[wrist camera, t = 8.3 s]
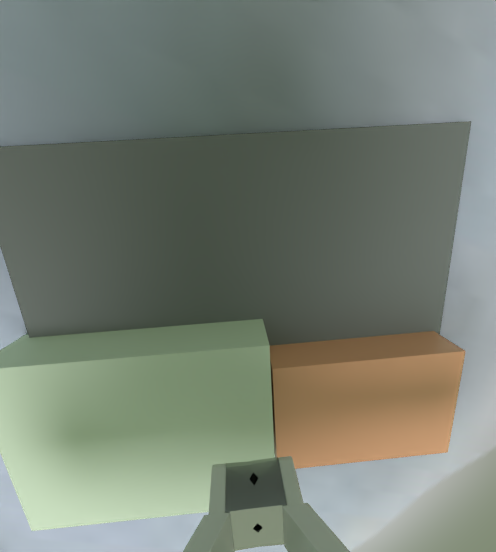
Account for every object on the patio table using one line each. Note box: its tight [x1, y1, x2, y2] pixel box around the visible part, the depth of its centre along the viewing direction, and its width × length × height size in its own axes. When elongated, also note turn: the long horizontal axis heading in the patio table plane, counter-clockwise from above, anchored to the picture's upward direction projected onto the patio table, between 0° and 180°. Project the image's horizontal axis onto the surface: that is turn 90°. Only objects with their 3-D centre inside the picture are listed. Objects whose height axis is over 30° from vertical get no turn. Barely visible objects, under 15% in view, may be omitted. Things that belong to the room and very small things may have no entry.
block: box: [270, 331, 465, 469], centre depth 14 cm, size 6×9×2 cm, turn 94°
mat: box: [0, 121, 471, 346], centre depth 13 cm, size 16×21×1 cm
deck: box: [0, 319, 275, 531], centre depth 13 cm, size 9×12×3 cm
